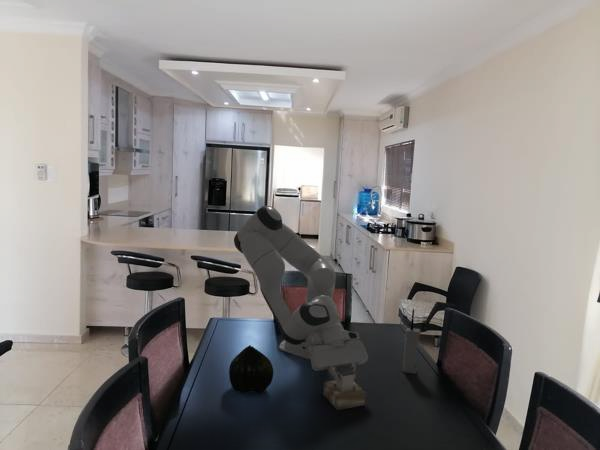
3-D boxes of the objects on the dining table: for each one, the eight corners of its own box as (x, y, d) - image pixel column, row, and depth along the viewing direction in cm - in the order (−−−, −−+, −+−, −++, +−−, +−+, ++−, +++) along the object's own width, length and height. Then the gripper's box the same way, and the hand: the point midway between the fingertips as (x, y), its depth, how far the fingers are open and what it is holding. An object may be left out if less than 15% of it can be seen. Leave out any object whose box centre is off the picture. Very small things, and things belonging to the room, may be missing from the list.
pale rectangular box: (335, 391, 143) (337, 367, 142) (346, 389, 144) (348, 365, 143) (341, 397, 139) (343, 372, 138) (352, 395, 141) (354, 371, 140)
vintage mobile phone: (416, 374, 164) (422, 311, 161) (403, 372, 165) (408, 309, 162) (415, 370, 167) (421, 308, 165) (402, 368, 168) (408, 306, 165)
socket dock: (323, 394, 144) (324, 382, 144) (348, 390, 148) (349, 378, 148) (337, 410, 135) (338, 396, 135) (364, 405, 139) (365, 391, 139)
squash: (259, 391, 134) (271, 345, 142) (216, 383, 138) (230, 339, 146) (271, 403, 145) (281, 359, 153) (231, 396, 149) (243, 354, 158)
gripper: (309, 339, 142) (321, 381, 134) (362, 333, 150) (376, 371, 142) (303, 347, 146) (314, 387, 139) (355, 340, 155) (367, 378, 147)
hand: (345, 379), depth 141 cm, fingers open, 4 cm apart
